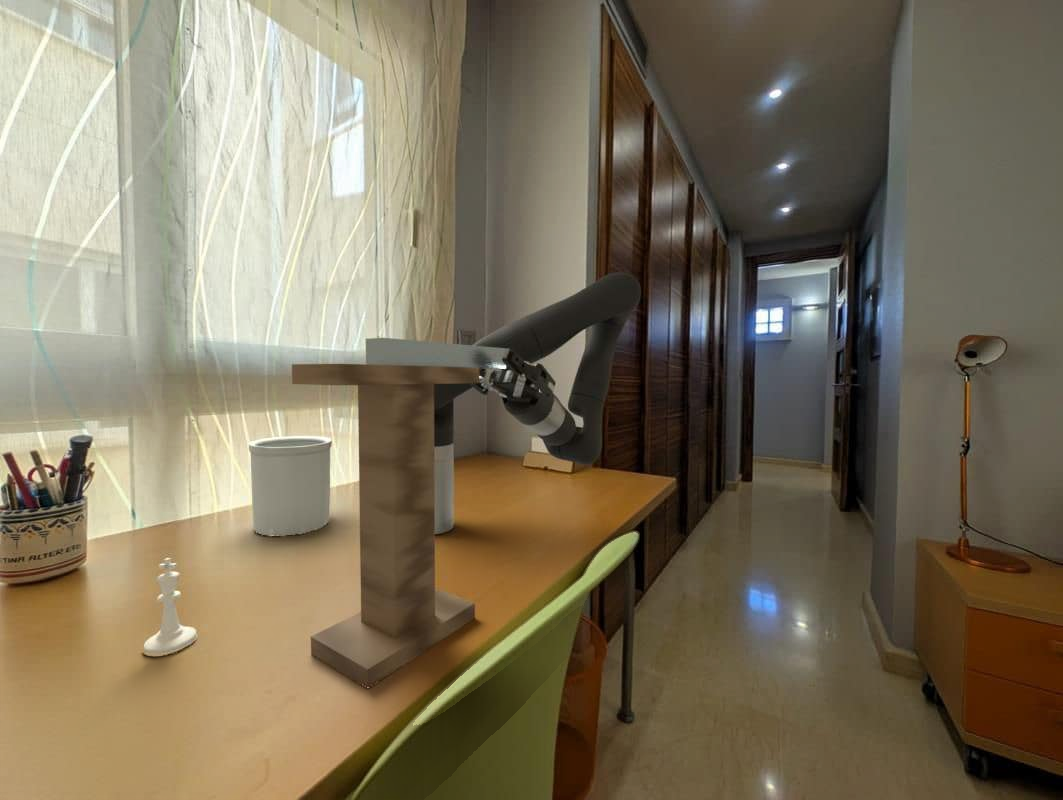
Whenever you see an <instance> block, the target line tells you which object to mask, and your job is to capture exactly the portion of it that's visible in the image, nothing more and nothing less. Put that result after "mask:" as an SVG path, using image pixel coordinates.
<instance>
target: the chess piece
mask: <svg viewBox="0 0 1063 800" xmlns="http://www.w3.org/2000/svg"><path fill="white" fill-rule="evenodd" d="M177 567H178V563H177V562H173V563H172V557H167V558H164V562H163V563H160V564H158V570H162V569H163V570H164V573H162V574H160V575H158V577H157V579H156V581H157V583H158V584H159V587H160V589H161V591H162V593H161V594H159V595H158V596H157V598H156V600H157V602H158V603H159V602H160V603H163V608H162V609H163V611H162V619H161V627H160V630H159V631H158V632H157V633H156V634H154V635H152V636H150V637H149V638H148V639H147V640H146V641H145V642H144V643H143V649H144V650H145V652H146V653H148V654H153V655H154V654H155V655H156V654H157V655H158V654H165V653H169V652H173V651H175V650H177V649H181V648H183V647H186V646H188V645H189V644H191V643H192V642H194V640H195V639H196V638H197V639H198V634H197V632H198V631H197V629H196V628H195V627H192V626H183V625H182V624H180V621H179V617H178V613H177V612H178V611H177V606H176V599H178V598H180V597H181V596H182V593H181V591H179V590H176V587H177V584H178V581H179V578H180V572H177V571H172V570H173V569H177ZM197 639H196V640H197ZM194 643H195V642H194Z"/></svg>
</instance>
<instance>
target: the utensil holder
mask: <svg viewBox="0 0 1063 800" xmlns="http://www.w3.org/2000/svg"><path fill="white" fill-rule="evenodd" d="M332 445H333V440H332V439H331V438H330V437H324V436H317V435H316V436H314V435H313V436H312V435H311V436H310V435H296V436H295V435H294V436H291V435H290V436H279V437H269V438H268V437H267V438H261V439H256V440H254V441H250V442H249V443H248V451H249V453H250V474H251V475H250V477H251V478H250V479H251V480H250V481H251V504H252V505H251V507H252V508H251V510H252V524H253V525H252V526H253V531H254V530H255V531H256V532H257V533H259V534H264V535H274V536H277V535H278V536H281V537H286V536H285V535H293V536H295V535H294V534H299V533H304V534H306V533H305V532H308V533H310V532H309V531H312V530H315V529H318V528H320V529H321V527H322V528H324V527H325V526H327V525H326V524H327V523H328V524H329V522H330V505H331V503H330V502H331V448H332ZM324 525H325V526H324ZM323 526H324V527H323ZM318 530H319V529H318ZM255 531H254V532H255ZM315 531H316V530H315ZM312 532H313V531H312ZM257 533H256V534H257ZM259 534H258V535H259ZM283 535H284V536H283Z"/></svg>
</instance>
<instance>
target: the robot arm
mask: <svg viewBox="0 0 1063 800" xmlns="http://www.w3.org/2000/svg"><path fill="white" fill-rule="evenodd" d="M641 294H642V289H641V284H640V282H639V281H638V280H637V278H636V277H635V276H633V275H631V274H629V273H625V272H612V273H609V274H607V275H605V276H603V277H601V278H599V279H598V280H596V281H594V282H593V283H591V284H589V285H588V286H586V287H585V288H583V289H581V290H580V291H578V292H576V293H574V294H573V295H570V296H568V297H566V298H564V299H562V300H560V301H557V302H555V303H553V304H550V305H548V306H545V307H543V308H541V309H539V310H536V311H535V312H533V313H530V314H527V315H525V316H522V317H521V318H518V319H516V320H514V321H512V322H509V323H507V324H505V325H504V326H502V327H500V328H497V329H496V330H494V331H493V332H491V333H489V334H487V335H486V336H484V337H482V338H481V339H479V340H477V341H476V342H474V343H473V344H471V345H472V346H484V347H495V348H506V350H505V352H504V355H503V358H502V361H503V363H504V364H505V365H506V369H479V383H457V384H434V494H435V535H439V534H444V533H446V532H449V531H451V530H452V529H453V528H454V524H455V522H454V520H455V519H454V518H455V517H454V515H455V512H454V509H455V506H454V505H455V502H454V501H455V496H454V495H455V494H454V493H455V492H454V491H455V490H454V489H455V487H454V486H455V485H454V483H455V481H454V480H455V479H454V476H455V475H454V474H455V473H454V471H455V470H454V469H455V468H454V464H455V463H454V460H455V459H454V451H455V450H454V449H455V448H454V433H455V432H454V428H455V426H454V423H455V421H454V420H455V419H454V413H455V412H454V410H455V409H454V406H455V405H454V401H455V399H456V398H458V397H459V396H461V395H462V394H464V393H465V392H468V391H469V390H471V389H473V388H474V389H475V390H476V391H477V392H479V393H480V394H482V395H484V396H486V395H488V394H489V391H492V392H494V393H495V394H496V395H498V396H500V397H501V399H502V402H503V406H504V408H505V410H506V411H507V412H508V413H509V414H510V415H511V416H513V417H514V418H515V419H516V421H518V422H519V423H521V424H522V425H523V426H524V427H525V428H527V429H528V430H529V431H531V432H533V433H534V434H535V435H536V436H538V437H539V438H540V439H541V440H542V442H543V444H544V446H545V448H546V451H547V452H548V454H550V455H551V456H552V457H554V458H556V459H558V460H561V461H562V460H563V461H567V462H570V463H571V462H572V463H575V464H579V465H584V466H589V465H590V466H591V465H593V464H594V463H595V462H596V461H597V460H598V459H599V457H600V455H601V452H602V448H603V424H602V423H603V410H604V406H605V401H606V398H607V394H608V390H609V388H610V383H611V382H610V381H611V376H612V368H613V360H614V354H615V349H616V347H617V344H618V340H619V338H620V335H621V333H622V331H623V329H624V327H625V325H626V322H627V321H628V320H629V319H630V318H631V316H632V315H633V313H635V310H636V308H637V307H638V305H639V302H640V300H641V296H642V295H641ZM586 329H588V333H587V337H586V338H587V339H586V343H585V346H584V351H583V354H582V356H581V359H580V362H579V364H578V368H577V371H576V374H575V377H574V380H573V384H572V387H571V391H570V394H569V398H568V401H567V408H566V407H565V406H564V405H563V404H562V402H561V401H560V399H559V398H558V396H557V395H556V393H554V390H555V386H556V380H555V379H554V378H553V377H552V376H551V374H550V373H549V371H548V370H547V368H546V367H544V365H543V364H542V363H538V361H540V360H542V359H544V358H546V357H548V356H549V355H551V354H553V353H554V352H556V351H558V350H559V349H560V348H562V347H563V346H564V345H565V344H567V343H568V342H569V341H571V339H573V338H575V337H576V336H577V335H578V334H579V333H581V332H583V331H584V330H586ZM536 362H537V363H536ZM532 364H534V365H532ZM572 414H573V415H576V416H577V417H580V418H582V422H583V424H582V427H580V426H577V424H576V420H575V418H574V416H573V415H572Z"/></svg>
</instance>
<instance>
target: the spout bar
mask: <svg viewBox="0 0 1063 800" xmlns="http://www.w3.org/2000/svg"><path fill="white" fill-rule="evenodd" d="M472 345H473V344H471V345H470V344H459V343H449V342H448V343H447V342H446V343H445V342H436V341H425V340H414V339H412V340H411V339H401V338H390V337H371V338H365V365H402V366H438V367H475V368H479V369H506V365H505V364H504V363H503V361H502V358H503V355H504V352H505V350H506V348H495V347H484V346H472Z"/></svg>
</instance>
